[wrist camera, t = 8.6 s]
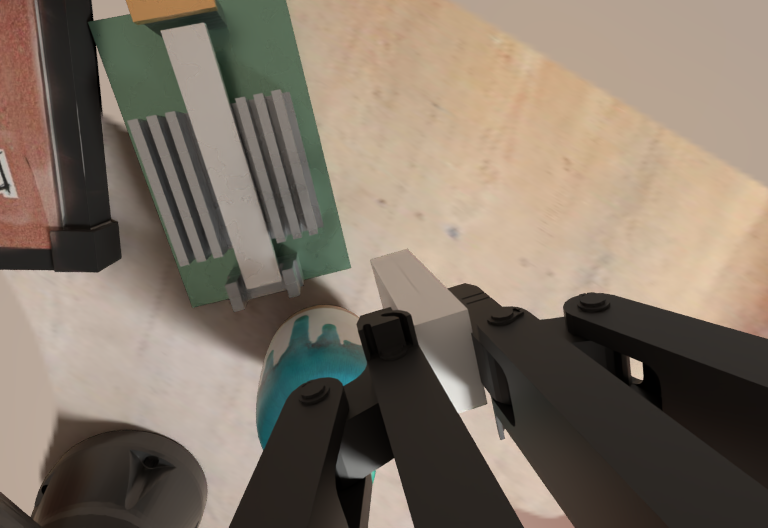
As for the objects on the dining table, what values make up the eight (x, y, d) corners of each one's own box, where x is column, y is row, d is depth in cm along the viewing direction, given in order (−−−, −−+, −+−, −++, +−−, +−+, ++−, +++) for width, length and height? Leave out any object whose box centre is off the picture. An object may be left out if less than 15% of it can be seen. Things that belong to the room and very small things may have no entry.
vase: (275, 284, 42) (249, 391, 24) (383, 297, 44) (434, 404, 26) (262, 383, 44) (230, 549, 26) (365, 391, 47) (401, 549, 28)
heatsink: (195, 303, 41) (173, 334, 35) (94, 25, 34) (41, -4, 28) (350, 265, 43) (357, 287, 36) (283, -10, 36) (277, -45, 29)
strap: (248, 286, 38) (247, 289, 37) (164, 32, 31) (160, 30, 30) (282, 277, 38) (282, 280, 37) (206, 24, 31) (204, 22, 30)
